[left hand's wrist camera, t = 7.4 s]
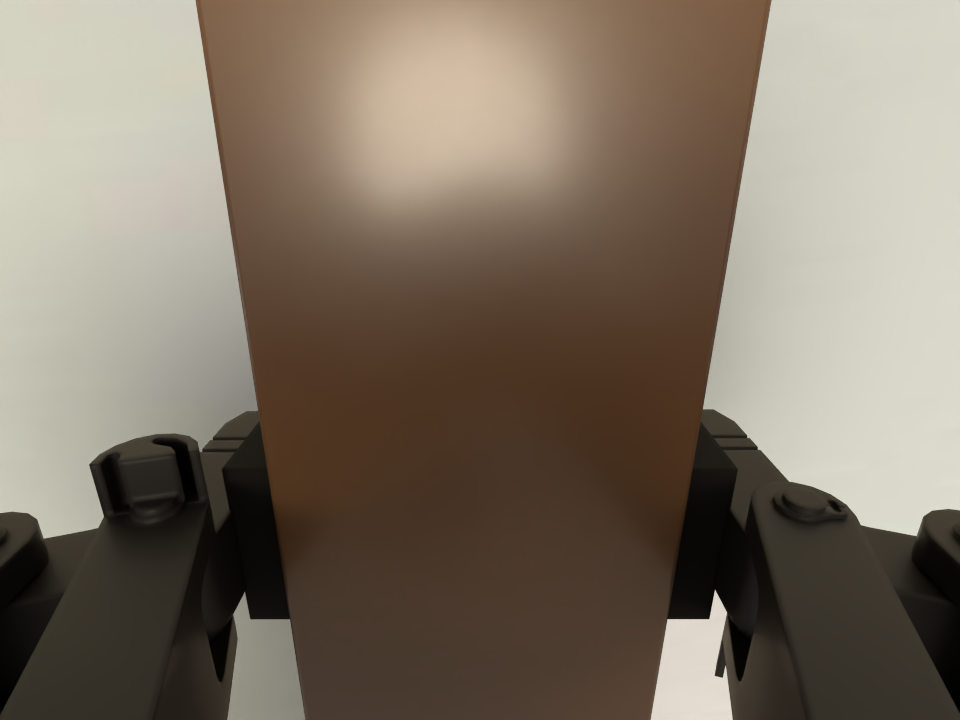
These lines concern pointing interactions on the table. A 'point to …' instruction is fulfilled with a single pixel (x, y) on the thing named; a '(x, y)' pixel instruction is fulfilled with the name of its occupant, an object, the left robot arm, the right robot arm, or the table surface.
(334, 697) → the bar
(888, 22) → the table surface
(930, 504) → the table surface
